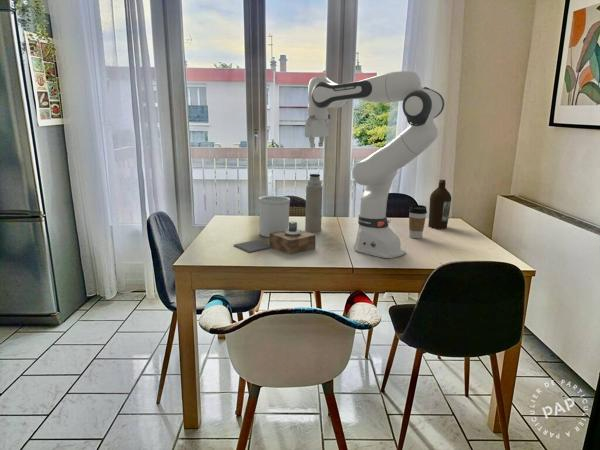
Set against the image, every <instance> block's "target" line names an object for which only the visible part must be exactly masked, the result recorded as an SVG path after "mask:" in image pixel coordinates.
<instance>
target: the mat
mask: <svg viewBox="0 0 600 450" xmlns="http://www.w3.org/2000/svg"><path fill="white" fill-rule="evenodd" d="M233 247H235V248H238V249H240V250H242V251H244V252H247V253H250V254H251V253H255V252H259V251H263V250H264V251H265V250H268V249H272V248H273V246H271V245H270V244H268V243H265V242H263V241H260V240H258V239H253V240H250V241H245V242H240V243H239V242H238V243H236V244H233ZM273 249H274V248H273Z"/></svg>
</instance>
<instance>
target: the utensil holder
mask: <svg viewBox="0 0 600 450" xmlns="http://www.w3.org/2000/svg"><path fill="white" fill-rule="evenodd" d="M258 203H259V204H258V206H259V209H258V210H259V219H258V221H259V222H258V223H259V227H258V228H259V235H260V236H261V237H264V238H270V233H273V232H278V231H283V230H287V229H289V221H290V204H291V198H290V197H287V196H283V195H262V196H260V197H258Z"/></svg>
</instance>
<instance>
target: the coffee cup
mask: <svg viewBox="0 0 600 450" xmlns="http://www.w3.org/2000/svg"><path fill="white" fill-rule="evenodd" d="M408 212H409V215H408V227H409V228H408V232H409V233H408V236H409V238H410V237H411V239H414V238H420V239H423V232H424V228H425V223H426V215H427V213H428V210H427V206H426V205H421V204H414V205H411V206H409V209H408Z"/></svg>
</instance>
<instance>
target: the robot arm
mask: <svg viewBox="0 0 600 450" xmlns="http://www.w3.org/2000/svg"><path fill="white" fill-rule="evenodd" d="M421 84H422V83H421V78H420V76H419V75H418V73H416V72H415V71H410V70H409V71H407V70H406V71H405V70H404V71H403V70H402V71H392V72H388V73H383V74H379V75H378V74H377V75H376V76H371V77H368V78H365V79H362V80H358V81H352V82H345V83H335V82H333V81H332V80H330V79H329V78H328V77H327V76H323V75H321V76H315V77H312V78H311V79H310V80H309V83H308V87H307V88H308V90H307V100H308V105H307V119H306V121H305V125H304V137H305V138H308V140H309V147H310V148H311V149H314V148H316V142H315V138H319V140H318V147H320V148H321V147H324V141H325V137H328V136H329V134H330V123H331V122H330V120H331V117H332V115H331V114H330V112H329V111H328V110H329V108H334V109H339V108H342V107H344V106H345V105H346V104H347V103H348V101H349V100H363V101H368V102H374V103H394V102H395V103H397V102H402V110H403V112H402V113H403V114H404V116H405V117H406V120H407V123H408V124H409V126H407V128H406V129H404V130H403V131H402V132H400V134H398V135H397V136H396V137H395V138H393V139H392V140H390V142H388V143H387V144H386V145H384V146H383V147H381V148H379V149H377V150H376V151H374V152H373V153H372V154H370V155H368V156H367V157H365V158H364V159H362V160H361V161H359V162H357V163H356V164H355V165H354V166H353V168H352V178H353V179H354V181H355V182H356V183H357V184H358V185H360V186H365V190H363V191H364V192H363V194H362V195H361V197H360V201H359V203H360V205H359V215H358V221H357V222H358V231H357V236H356V239H355V242H354V245H353V247H354V251H355V252H358V253H361V254H366V255H370V256H373V257H374V256H375V257H378V258H382V259H395V258H398V257H402V256H403V255H406V249H403V248H401V240H400V238H399V237H398V235H397V234H396V232H394V231H393V230H392V228H391V227H389V224H391V219H389V220H388V219H387V214H386V213H387V205H388V204H387V203H388V198H389V193H390V190H391V187H392V184H393V180H394V179H395V178H396V176H397V174H398V170H399V169H401V168H403V167H405V166H406V165H408V164H409V163H411V162H412V161H413V160H414V159H416V158H417V157H418V156H419V155H421V154H422V153H423V152H424V151H426V150H427V149H428V148H429V147H430V146H431V145H432V143H434V141H436V139H437V138H438V135H439V134H438V133H439V131H438V128H437V125H436V124H435V122H434V119H435V118H437V117H438V116H440V115H441V114H442V113H443V110H444V108H445V99H444V97H443V96H442V95H441V93H439V92H438V91H436V90H434V89H432V88H429V87H426V86H424V87H422V85H421Z"/></svg>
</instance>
